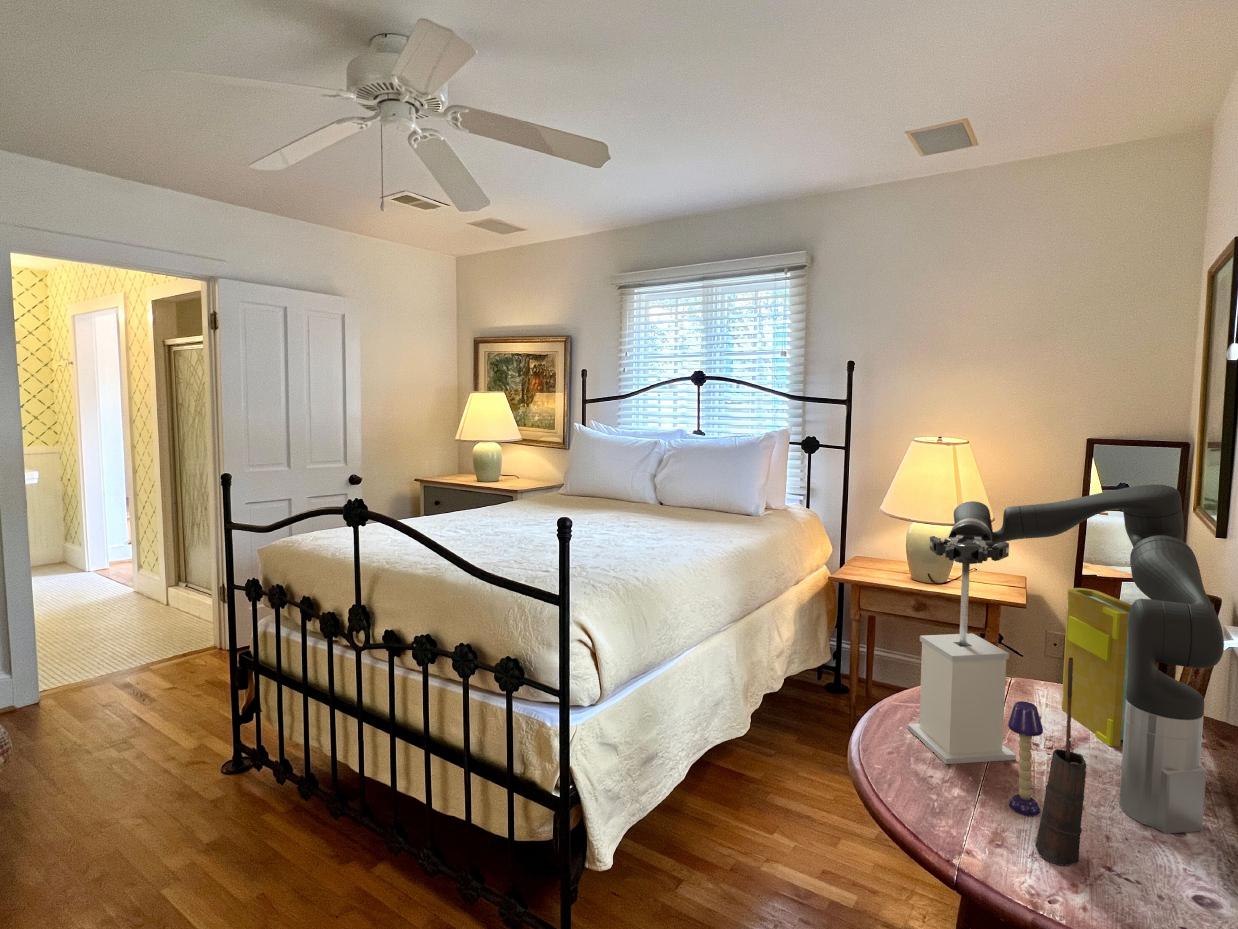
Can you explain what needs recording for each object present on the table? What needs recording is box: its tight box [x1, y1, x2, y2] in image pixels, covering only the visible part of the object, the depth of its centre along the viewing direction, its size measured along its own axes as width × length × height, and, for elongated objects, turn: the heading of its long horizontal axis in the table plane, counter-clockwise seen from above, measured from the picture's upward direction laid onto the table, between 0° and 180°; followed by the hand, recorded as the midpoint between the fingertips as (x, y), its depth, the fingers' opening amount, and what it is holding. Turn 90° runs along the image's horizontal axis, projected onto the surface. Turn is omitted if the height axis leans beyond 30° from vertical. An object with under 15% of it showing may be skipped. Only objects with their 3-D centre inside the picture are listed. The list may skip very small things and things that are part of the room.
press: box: [907, 633, 1017, 765], centre depth 126 cm, size 13×13×19 cm
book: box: [1061, 587, 1132, 747], centre depth 133 cm, size 17×7×25 cm, turn 179°
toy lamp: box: [1007, 700, 1044, 817], centre depth 106 cm, size 5×5×17 cm
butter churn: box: [1035, 657, 1087, 867], centre depth 94 cm, size 9×10×28 cm
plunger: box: [953, 543, 979, 647], centre depth 125 cm, size 8×8×26 cm
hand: (965, 556), depth 122 cm, fingers closed on plunger, 4 cm apart
